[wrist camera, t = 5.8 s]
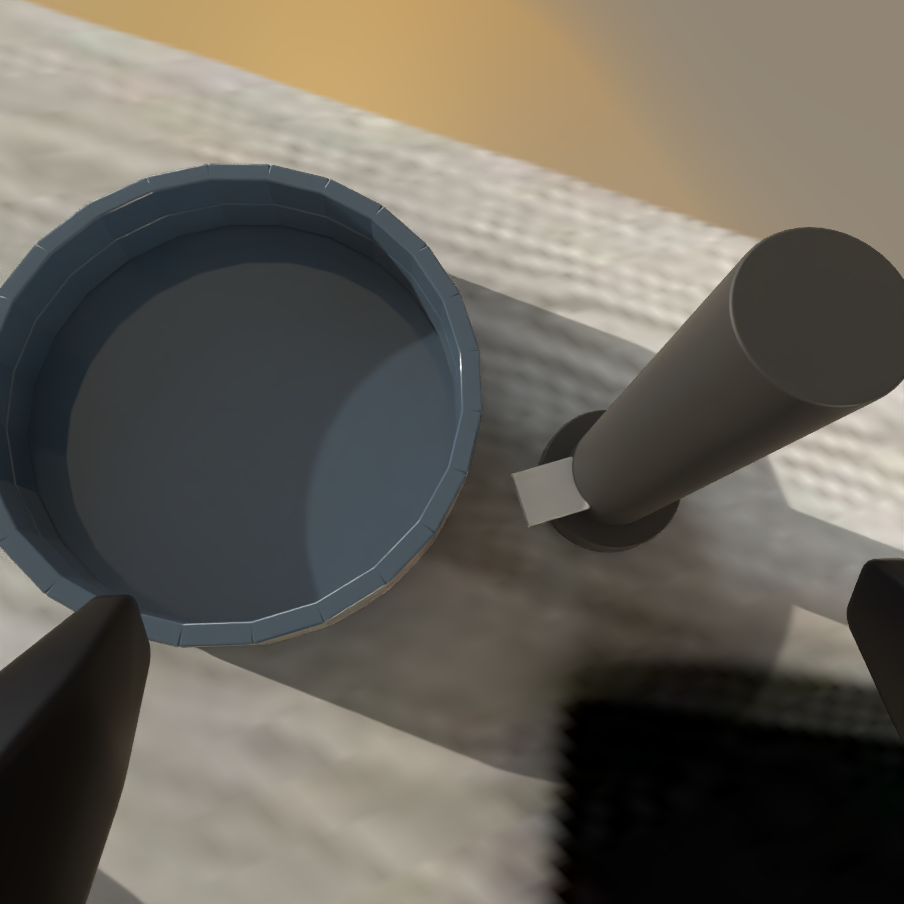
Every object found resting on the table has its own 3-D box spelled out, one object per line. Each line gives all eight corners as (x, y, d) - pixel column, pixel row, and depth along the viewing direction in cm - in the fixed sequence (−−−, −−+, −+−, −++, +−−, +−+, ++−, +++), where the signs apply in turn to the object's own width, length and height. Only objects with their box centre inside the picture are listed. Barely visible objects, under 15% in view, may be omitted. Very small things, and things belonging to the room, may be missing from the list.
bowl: (544, 338, 24) (564, 297, 21) (330, 735, 20) (317, 751, 18) (186, 152, 25) (157, 89, 22) (-80, 501, 21) (-156, 480, 18)
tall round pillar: (670, 396, 24) (943, 148, 12) (719, 521, 23) (1072, 391, 11) (489, 447, 23) (582, 235, 11) (532, 578, 22) (687, 508, 10)
